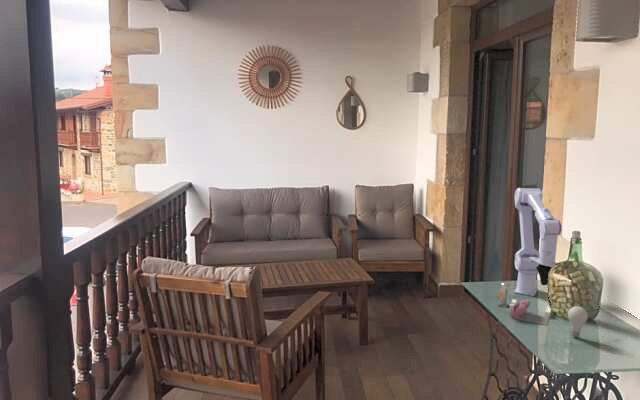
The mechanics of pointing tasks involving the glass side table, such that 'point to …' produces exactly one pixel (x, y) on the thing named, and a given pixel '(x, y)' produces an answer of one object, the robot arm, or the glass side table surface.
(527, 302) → the video game controller
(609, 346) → the glass side table surface
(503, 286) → the orange and grey bar
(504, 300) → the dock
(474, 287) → the glass side table surface
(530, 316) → the mat
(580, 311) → the lightbulb
